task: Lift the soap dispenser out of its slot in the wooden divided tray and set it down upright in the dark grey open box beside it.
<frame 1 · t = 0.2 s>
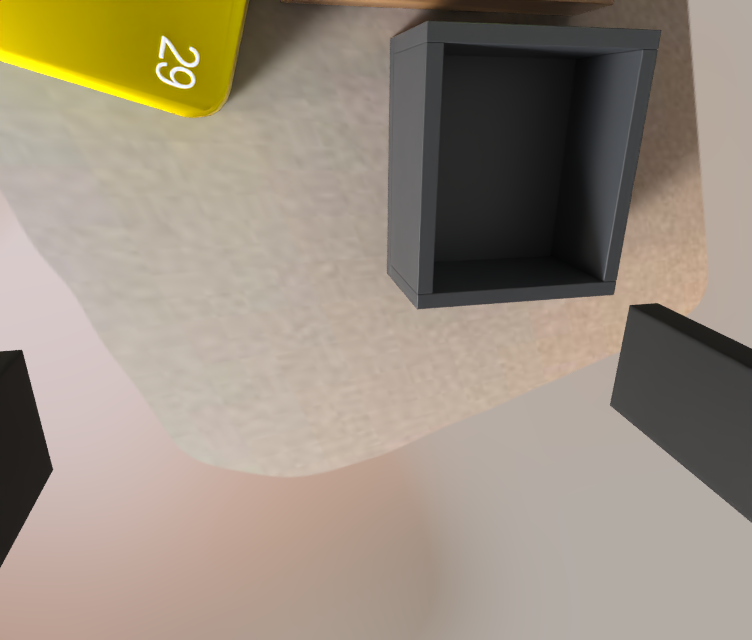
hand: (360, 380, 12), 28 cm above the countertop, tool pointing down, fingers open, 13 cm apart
dark grey open box: (480, 163, 39), on the countertop
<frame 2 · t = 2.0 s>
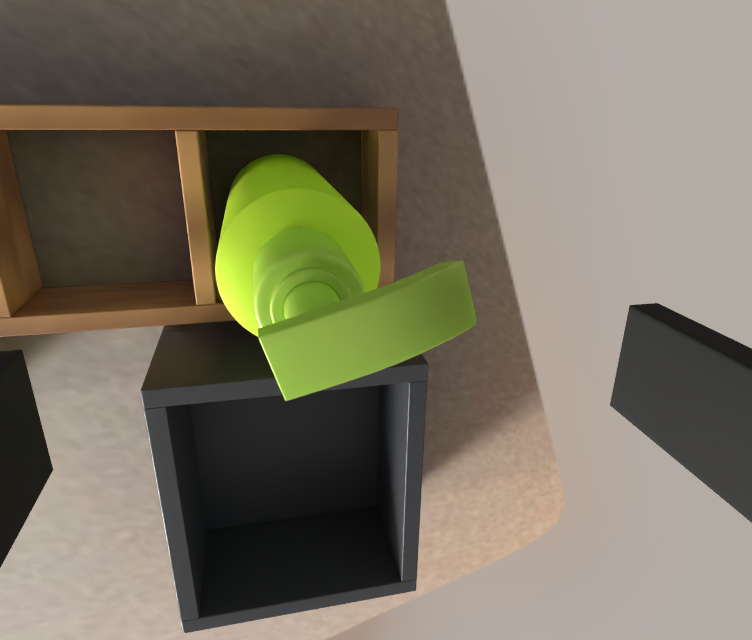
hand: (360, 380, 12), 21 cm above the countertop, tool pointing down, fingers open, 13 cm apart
soap dispenser: (288, 203, 31), resting in wooden divided tray
dark grey open box: (288, 426, 36), on the countertop
wooden divided tray: (203, 206, 30), on the countertop
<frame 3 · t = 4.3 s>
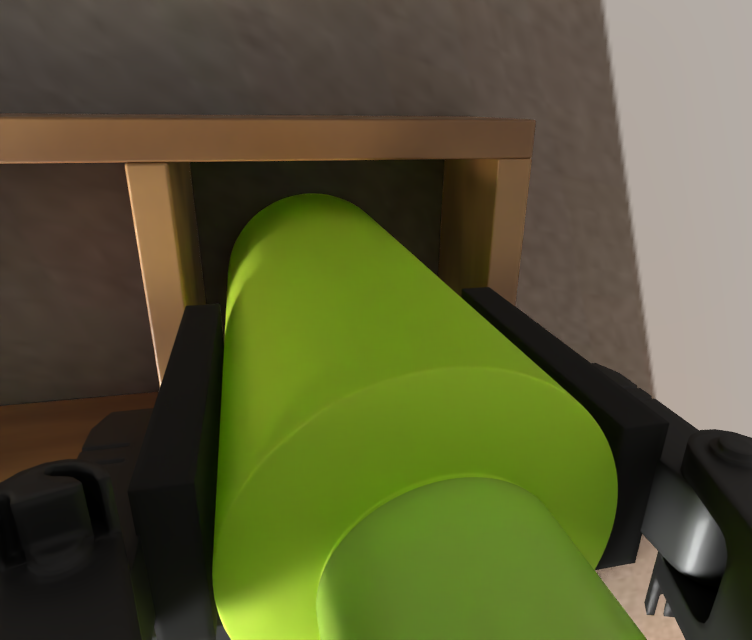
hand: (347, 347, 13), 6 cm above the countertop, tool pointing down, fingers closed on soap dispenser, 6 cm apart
soap dispenser: (325, 269, 19), resting in wooden divided tray, touching gripper
wooden divided tray: (188, 278, 18), on the countertop
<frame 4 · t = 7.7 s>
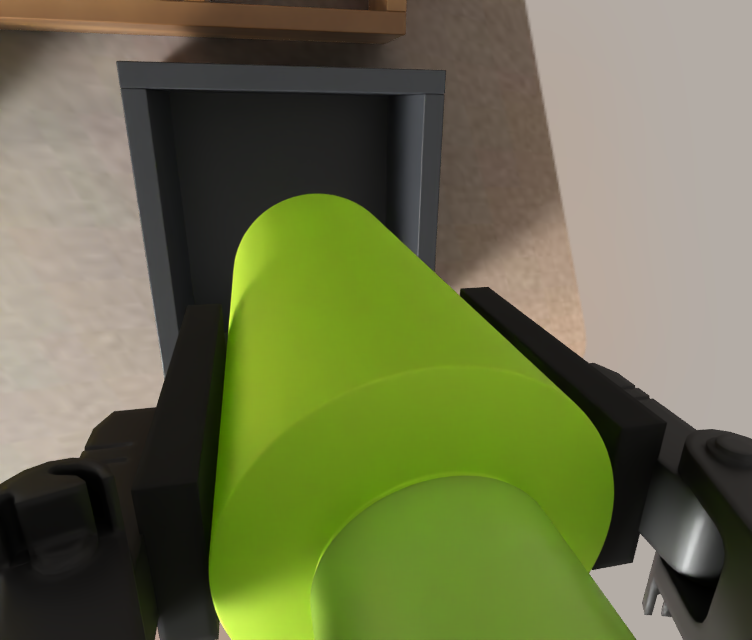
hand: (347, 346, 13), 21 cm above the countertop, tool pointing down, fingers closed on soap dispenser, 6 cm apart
soap dispenser: (330, 269, 20), point 15 cm above the countertop, touching gripper
dark grey open box: (287, 216, 33), on the countertop
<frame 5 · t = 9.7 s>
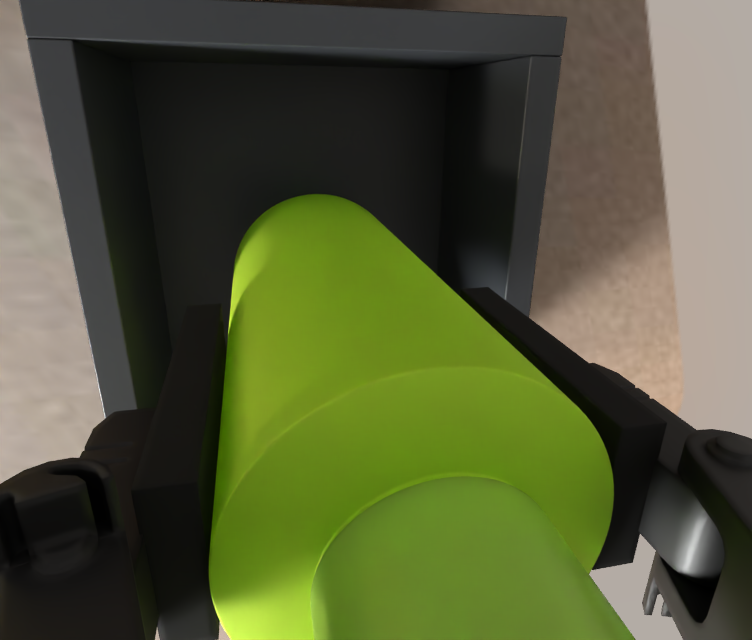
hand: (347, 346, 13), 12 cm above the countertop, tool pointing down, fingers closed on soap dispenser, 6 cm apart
soap dispenser: (330, 269, 20), point 5 cm above the countertop, touching gripper
dark grey open box: (303, 240, 24), on the countertop
when the fingers open (7 cm above the countertop, at t = 11.1 s): soap dispenser stays where it is, resting on dark grey open box.
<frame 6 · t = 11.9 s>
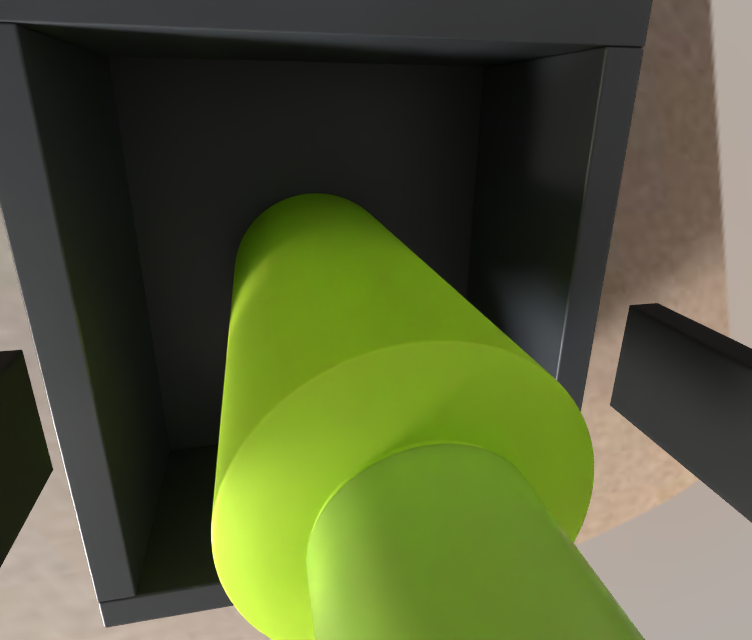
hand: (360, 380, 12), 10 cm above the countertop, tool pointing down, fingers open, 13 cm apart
soap dispenser: (329, 267, 20), point 1 cm above the countertop, touching dark grey open box
dark grey open box: (313, 264, 21), on the countertop
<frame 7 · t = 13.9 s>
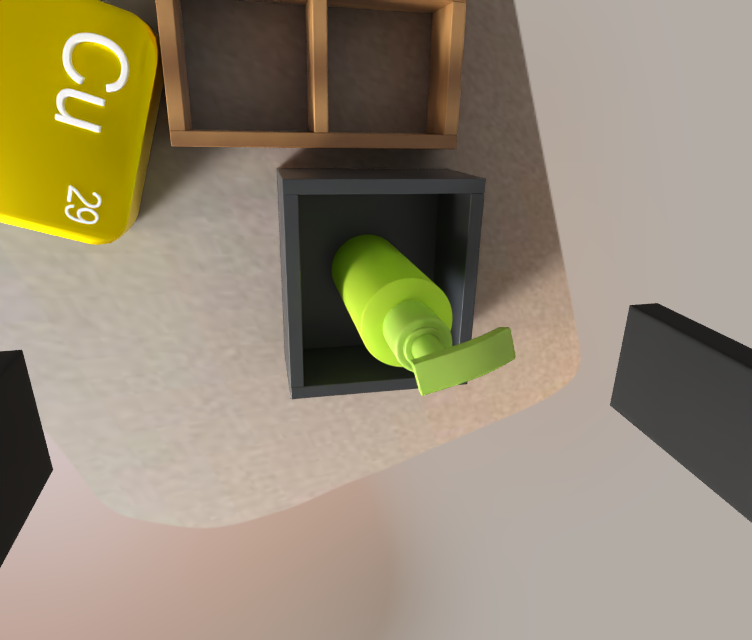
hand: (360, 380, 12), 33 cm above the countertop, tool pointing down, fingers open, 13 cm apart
element tile: (39, 107, 37), on the countertop
soap dispenser: (371, 266, 45), point 1 cm above the countertop, touching dark grey open box
dark grey open box: (363, 265, 46), on the countertop
wooden divided tray: (313, 70, 40), on the countertop
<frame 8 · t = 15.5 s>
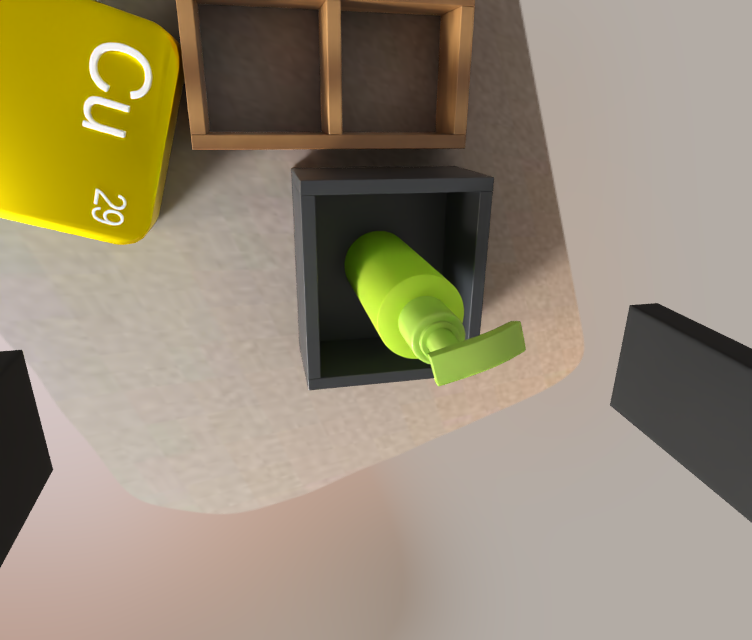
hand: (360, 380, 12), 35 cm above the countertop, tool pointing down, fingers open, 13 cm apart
element tile: (64, 113, 39), on the countertop
soap dispenser: (382, 261, 47), point 1 cm above the countertop, touching dark grey open box
dark grey open box: (375, 260, 47), on the countertop
wooden divided tray: (326, 73, 41), on the countertop
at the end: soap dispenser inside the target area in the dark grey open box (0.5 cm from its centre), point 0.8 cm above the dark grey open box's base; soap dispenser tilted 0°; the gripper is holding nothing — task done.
